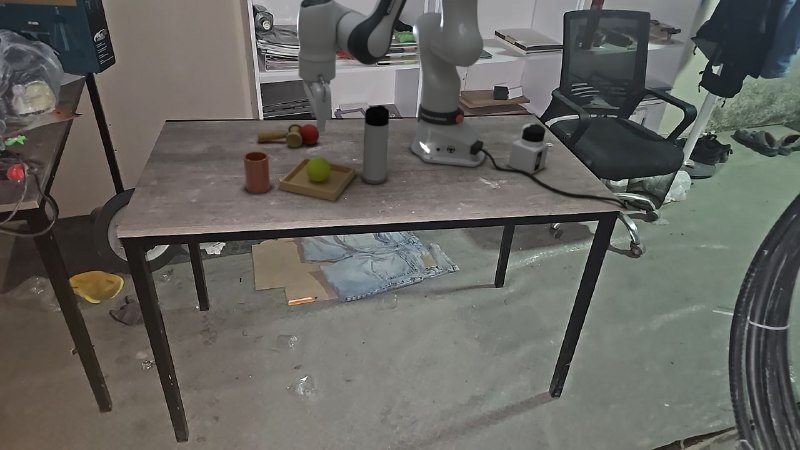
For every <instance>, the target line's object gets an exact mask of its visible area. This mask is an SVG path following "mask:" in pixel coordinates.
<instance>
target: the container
mask: <svg viewBox="0 0 800 450" xmlns="http://www.w3.org/2000/svg"><path fill="white" fill-rule="evenodd" d="M545 134H546V128H545V127H544V126H543V125H541V124H539V123H526V124H524V125H523V126H522V128H521V134H520V138H519V139H518V140H516V141H513V142H512V145H511V150H510V156H509V161H508V167H509V168H511V169H518V170H523V171H526V172H528V173H530V174H531V175H533V174H535V173H536V172H539V171H540V170H542V169H544V167H545V163H546V159H547V156H548V150H549V145H550V144H549V143H547V142H544V139H545Z"/></svg>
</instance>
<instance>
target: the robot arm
mask: <svg viewBox="0 0 800 450" xmlns="http://www.w3.org/2000/svg"><path fill="white" fill-rule="evenodd" d="M407 1H408V0H376V2H375V5H374V7H373V10H371V12H370V13H369V14H368V15H366V14H363V13H361V12H360V11H357V10H355V9H352V8H349V7H346V6H344V5H342V4H340V3H339V2H336V0H302V1H301V2H300V4H299V7H298V12H297V26H296V27H297V41H298V44H299V49H298V53H297V66H298V67H297V69H298V71H297V72H298V77H299V78H300V79H302V83H303V90H304V93H305V96H306V98H307V100H308V103H309V108H310V116H311V117H312V118H315V120H316V127H317V131H318V132H319V133H324V132H325V131H326V122H327V121H330V120H331V119H332V115H333V109H332V106H333V105H332V90H331V87H330V85H331V81H332V80H334V79H336V77H337V75H336V74H337V71H336V69H337V54H338V52H343V53H346V54H347V55H349V56H351V57H352V58H353V59H354V60H356V61H357V62H359V63H360V64H362V65H365V66H371V65H376V64H378V63H379V62H382V60H383V59H385V57H386V56H387V55H388V54H389V52H390V49H391V47H392V45H393V38H394V34H395V30H396V28H397V24H398V22H399V20H400V17H401V15H402V13H403V10H404V8H405V6H406V4H407ZM439 1H440V8H441V11H440V12H435V11H431V12H430V11H429V12H424V13H422V14H421V15H419V16H418V17H417V19H415V22H414V24H413V27H412V36H413V39H414V41H415V43H416V46H417V49H418V53H419V60H420V67H421V75H422V77H421V78H422V83H421V97H420V103H419V104H418V110H417V127H416V131H415V132H416V133H415V135H414V136H415V137H414V140H413V141H412V144H411V147H410V148H411V151H412V152H413V153H414V154H416V155H417V156H418V157H420V158H421V159H422V160H423V162H424V163H430V164H431V163H432V164H442V165H450V166H460V167H468V168H469V167H470V168H474V167H477V166H480V165H481V164H482V163H483V162H484V160H485V157H486V156H487V157H488V158H489V159H490V160H491V162H492V165H493V166H494V168H495V169H497V170H499V171H502V172H510V173H511V172H512V173H520V174H524V175H527V176H528V177H529V178H531V179H532V180H533V181H535V182H536V183H537V184H539V185H541V186H542V187H544V188H546V189H548V190H550V191H553V192H556V193H558V194H561V195H564V196H569V197H574V198H586V199H587V198H588V199H594V200H601V201H611V202H615V203H617V204H619V205H621V206H622V207H623V209H625V210H628V207H627V205H626V204H625V203H624V202H623V201H621V200H620V199H617V198H613V197H606V196H598V195H594V194H593V195H592V194H583V193H582V194H581V193H580V194H578V193H572V192H567V191H563V190H560V189H557V188H555V187H553V186H550V185H548V184H547V183H544V182H542V181H541V180H539V179H538V178H536V177H535V176H534V175H533V174H530V173H528V172H526V171H523V170H518V169H514V168H502V167H501V166H498V164H497V163H496V161H495V159H494V157H493V155H492V154H491V153H489V152H488V151H487V150H486V149H485V148H484V141H481V140H479V135H478V133H477V131H475V130H474V128H472V127H471V126H470V125H469V124H468V123H467V122H466V121H465V111H466V110H465V108H463V109H462V108H461V107H460V106H459V103H460V96H461V89H462V80H461V77H460V75H459V73H458V70H457V69H458V68H457V67H461V68H469V67H471V66H473V65H475V64H476V63H477V62H478V61H479V60H480V58H481V57H482V54H483V52H484V40H483V37H482V34H481V32H480V27H479V19H478V18H479V17H478V5H479V4H478V2H479V0H439Z"/></svg>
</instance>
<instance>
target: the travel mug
mask: <svg viewBox="0 0 800 450" xmlns="http://www.w3.org/2000/svg"><path fill="white" fill-rule="evenodd" d="M389 126H390V110H389V109H388V108H387V107H386V106H385V105H381V104H378V105H377V106H376V105H375V106H370V107H367V109H365V111H364V131H363V154H362V155H363V156H362V157H363V158H362V159H363V160H362V180H363V181H364V182H366V183H368V184H372V185H377V184H378V185H379V184H382V183H383V182H385V181H386V179H387V178H386V176H387V175H386V173H387V161H388V145H389V144H388V143H389V130H390V129H389Z"/></svg>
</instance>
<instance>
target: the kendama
mask: <svg viewBox="0 0 800 450" xmlns="http://www.w3.org/2000/svg"><path fill="white" fill-rule="evenodd" d="M287 130H288V132H286V131H266V132H265V131H264V132H263V131H258V132H257V141H258V142H259V143H264V142H271V141H279V140H284V139H285V142H286V144H287V145H288V146H289V147H291V148H299V147H300V146H301V145H302V143H304V144H305V145H313V144H315V143H316V142H317V141H318V140H319V138H320V132H318V131H317V126H316V125H314V124H311V123H310V124H309V123H307V124H304V125H301V124H300V123H299V122H293V123H290V125H289V126H288V129H287Z"/></svg>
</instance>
